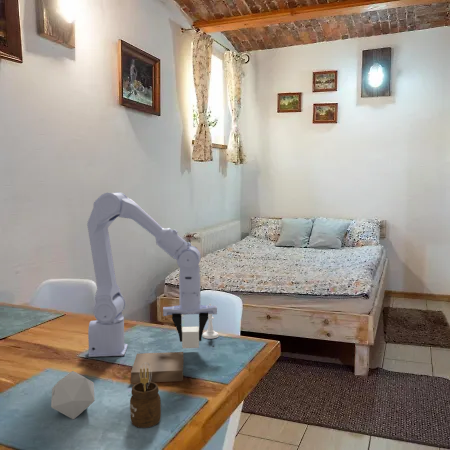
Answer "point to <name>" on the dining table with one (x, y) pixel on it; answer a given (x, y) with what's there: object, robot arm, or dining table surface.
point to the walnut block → (159, 367)
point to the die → (72, 395)
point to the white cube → (190, 337)
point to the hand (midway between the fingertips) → (190, 340)
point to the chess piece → (210, 329)
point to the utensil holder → (145, 402)
